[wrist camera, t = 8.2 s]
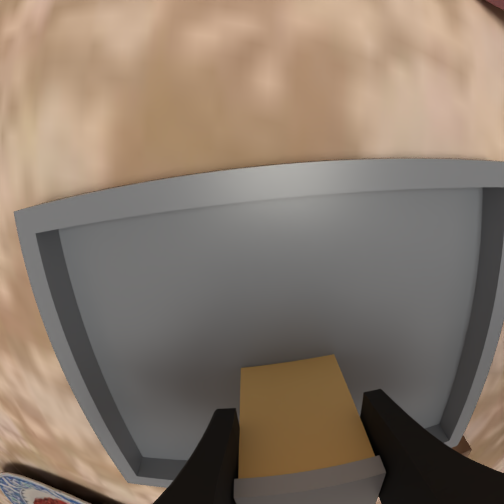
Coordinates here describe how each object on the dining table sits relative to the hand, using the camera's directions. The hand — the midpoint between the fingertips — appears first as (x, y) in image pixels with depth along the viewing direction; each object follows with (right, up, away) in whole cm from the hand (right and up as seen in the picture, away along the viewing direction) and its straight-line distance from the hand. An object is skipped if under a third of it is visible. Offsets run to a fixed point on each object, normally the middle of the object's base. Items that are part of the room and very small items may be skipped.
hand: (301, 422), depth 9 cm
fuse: (0, -1, +4) cm, 4 cm away
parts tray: (0, +1, +4) cm, 4 cm away
